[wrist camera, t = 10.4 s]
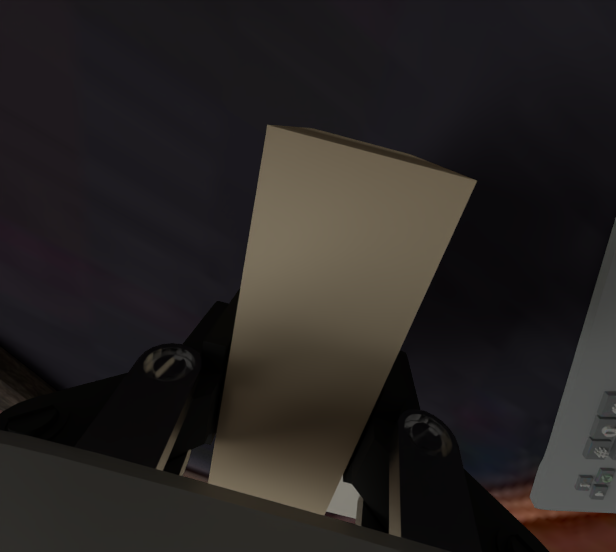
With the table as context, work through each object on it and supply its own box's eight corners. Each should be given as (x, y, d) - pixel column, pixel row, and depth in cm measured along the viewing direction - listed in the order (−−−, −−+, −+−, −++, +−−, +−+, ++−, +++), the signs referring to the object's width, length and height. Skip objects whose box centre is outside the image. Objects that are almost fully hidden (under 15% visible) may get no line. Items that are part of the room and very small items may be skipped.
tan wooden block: (312, 128, 10) (267, 124, 5) (409, 154, 10) (476, 180, 5) (252, 397, 15) (198, 543, 10) (317, 415, 15) (298, 572, 10)
